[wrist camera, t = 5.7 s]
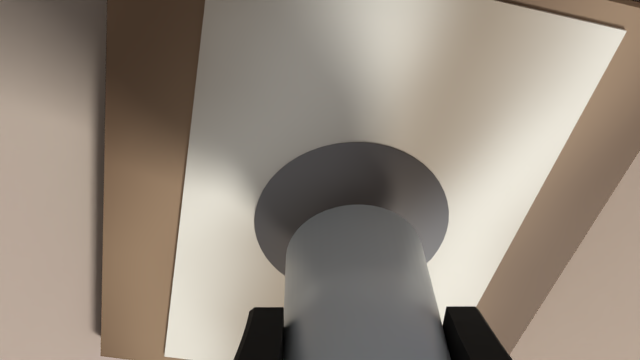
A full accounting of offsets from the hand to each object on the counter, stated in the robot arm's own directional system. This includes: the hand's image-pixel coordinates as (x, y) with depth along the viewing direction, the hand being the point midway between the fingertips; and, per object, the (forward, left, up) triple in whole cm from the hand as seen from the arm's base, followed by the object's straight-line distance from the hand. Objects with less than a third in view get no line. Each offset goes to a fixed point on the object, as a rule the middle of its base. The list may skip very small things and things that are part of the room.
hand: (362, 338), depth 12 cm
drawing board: (0, 0, -4) cm, 4 cm away
